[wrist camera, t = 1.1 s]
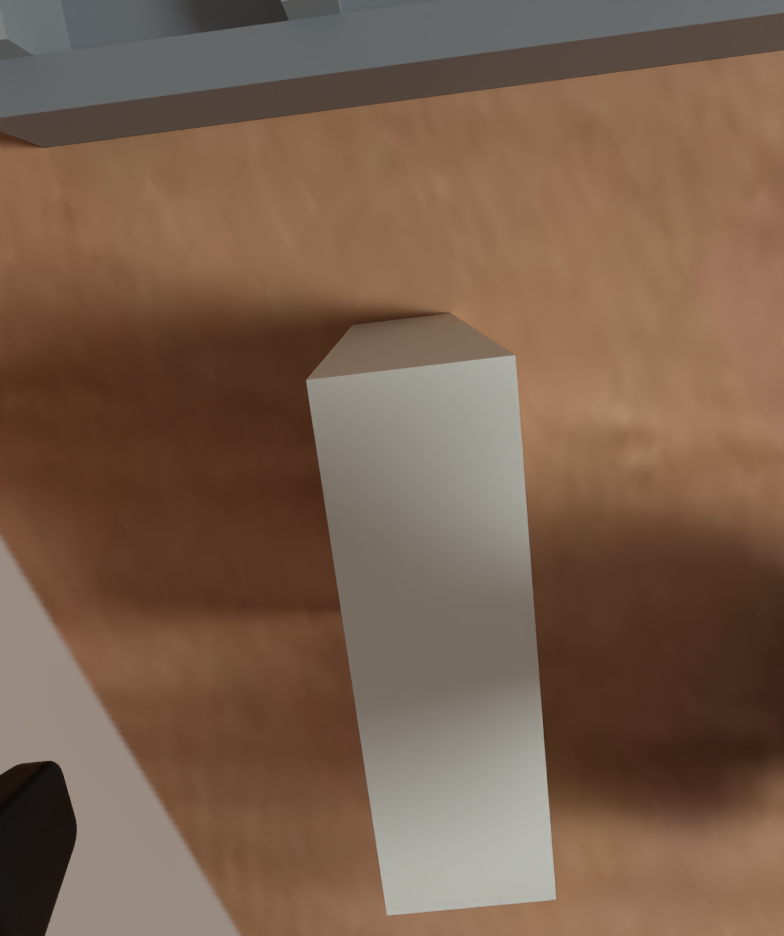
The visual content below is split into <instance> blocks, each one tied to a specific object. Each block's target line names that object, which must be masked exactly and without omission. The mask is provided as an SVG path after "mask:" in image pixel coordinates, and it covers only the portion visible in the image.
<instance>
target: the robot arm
mask: <svg viewBox="0 0 784 936" xmlns="http://www.w3.org/2000/svg"><path fill="white" fill-rule="evenodd" d="M76 832H77V826H76V819H75V815H74V811H73V808H72V805H71V801H70V797H69V793H68V790H67V786H66V783H65V779H64V776H63V773H62V770H61V768H60V767H59V765H58V764H56V763H55V762H53V761H42V762H33V763H23V764H19V765H16V766H14V767H13V768H11V769H9V770H8V771H6V772H4V773H3V774H1V775H0V936H45V933H46V930H47V927H48V924H49V921H50V918H51V915H52V912H53V909H54V906H55V903H56V900H57V897H58V894H59V891H60V888H61V885H62V882H63V879H64V876H65V873H66V870H67V867H68V864H69V861H70V858H71V855H72V851H73V848H74V845H75V840H76V834H77V833H76Z"/></svg>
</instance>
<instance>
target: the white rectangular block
mask: <svg viewBox="0 0 784 936" xmlns="http://www.w3.org/2000/svg"><path fill="white" fill-rule="evenodd" d="M306 383H307V390H308V397H309V403H310V410H311V417H312V423H313V430H314V436H315V443H316V450H317V456H318V463H319V469H320V476H321V483H322V489H323V496H324V502H325V509H326V516H327V522H328V529H329V535H330V542H331V549H332V555H333V562H334V569H335V575H336V582H337V588H338V595H339V602H340V608H341V615H342V621H343V628H344V635H345V641H346V648H347V654H348V661H349V668H350V674H351V681H352V687H353V694H354V701H355V707H356V714H357V721H358V727H359V734H360V740H361V747H362V754H363V760H364V767H365V773H366V780H367V787H368V793H369V800H370V806H371V813H372V820H373V826H374V833H375V839H376V846H377V853H378V859H379V866H380V873H381V879H382V886H383V892H384V899H385V906H386V912H387V916H388V915H398V914H409V913H419V912H430V911H441V910H451V909H462V908H472V907H483V906H493V905H504V904H515V903H525V902H536V901H546V900H556V893H555V880H554V866H553V853H552V840H551V826H550V813H549V799H548V786H547V773H546V759H545V746H544V732H543V719H542V706H541V692H540V679H539V665H538V652H537V639H536V625H535V612H534V598H533V585H532V572H531V558H530V545H529V532H528V518H527V505H526V491H525V478H524V465H523V451H522V438H521V424H520V411H519V398H518V384H517V371H516V357H515V355H514V354H513V353H511V352H510V351H508V350H507V349H505V348H504V347H502V346H501V345H499V344H497V343H496V342H494V341H493V340H491V339H490V338H488V337H487V336H485V335H484V334H482V333H480V332H479V331H477V330H476V329H474V328H473V327H471V326H470V325H468V324H467V323H465V322H463V321H462V320H460V319H459V318H457V317H456V316H454V315H453V314H451V313H446V314H438V315H430V316H422V317H413V318H405V319H397V320H389V321H381V322H372V323H364V324H356V325H352V326H351V327H350V328H349V330H348V331H347V332H346V333H345V334H344V336H343V337H342V338H341V339H340V340H339V342H338V343H337V344H336V345H335V346H334V347H333V349H332V350H331V351H330V352H329V353H328V355H327V356H326V357H325V358H324V359H323V361H322V362H321V363H320V364H319V365H318V366H317V368H316V369H315V370H314V371H313V372H312V374H311V375H310V376H309V377H308V378H307V380H306Z"/></svg>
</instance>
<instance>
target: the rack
mask: <svg viewBox="0 0 784 936" xmlns="http://www.w3.org/2000/svg"><path fill="white" fill-rule="evenodd" d="M779 50H784V0H0V132H3V133H6V134H8V135H11V136H14V137H17V138H19V139H22V140H25V141H27V142H30V143H33V144H36V145H38V146H41V147H44V148H45V147H53V146H61V145H68V144H76V143H83V142H91V141H98V140H106V139H114V138H121V137H129V136H136V135H144V134H151V133H159V132H166V131H174V130H182V129H189V128H197V127H204V126H212V125H219V124H227V123H234V122H242V121H250V120H257V119H265V118H272V117H280V116H287V115H295V114H303V113H310V112H318V111H325V110H333V109H340V108H348V107H355V106H363V105H371V104H378V103H386V102H393V101H401V100H408V99H416V98H423V97H431V96H439V95H446V94H454V93H461V92H469V91H476V90H484V89H492V88H499V87H507V86H514V85H522V84H529V83H537V82H544V81H552V80H560V79H567V78H575V77H582V76H590V75H597V74H605V73H612V72H620V71H628V70H635V69H643V68H650V67H658V66H665V65H673V64H681V63H688V62H696V61H703V60H711V59H718V58H726V57H733V56H741V55H749V54H756V53H764V52H771V51H779Z"/></svg>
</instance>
